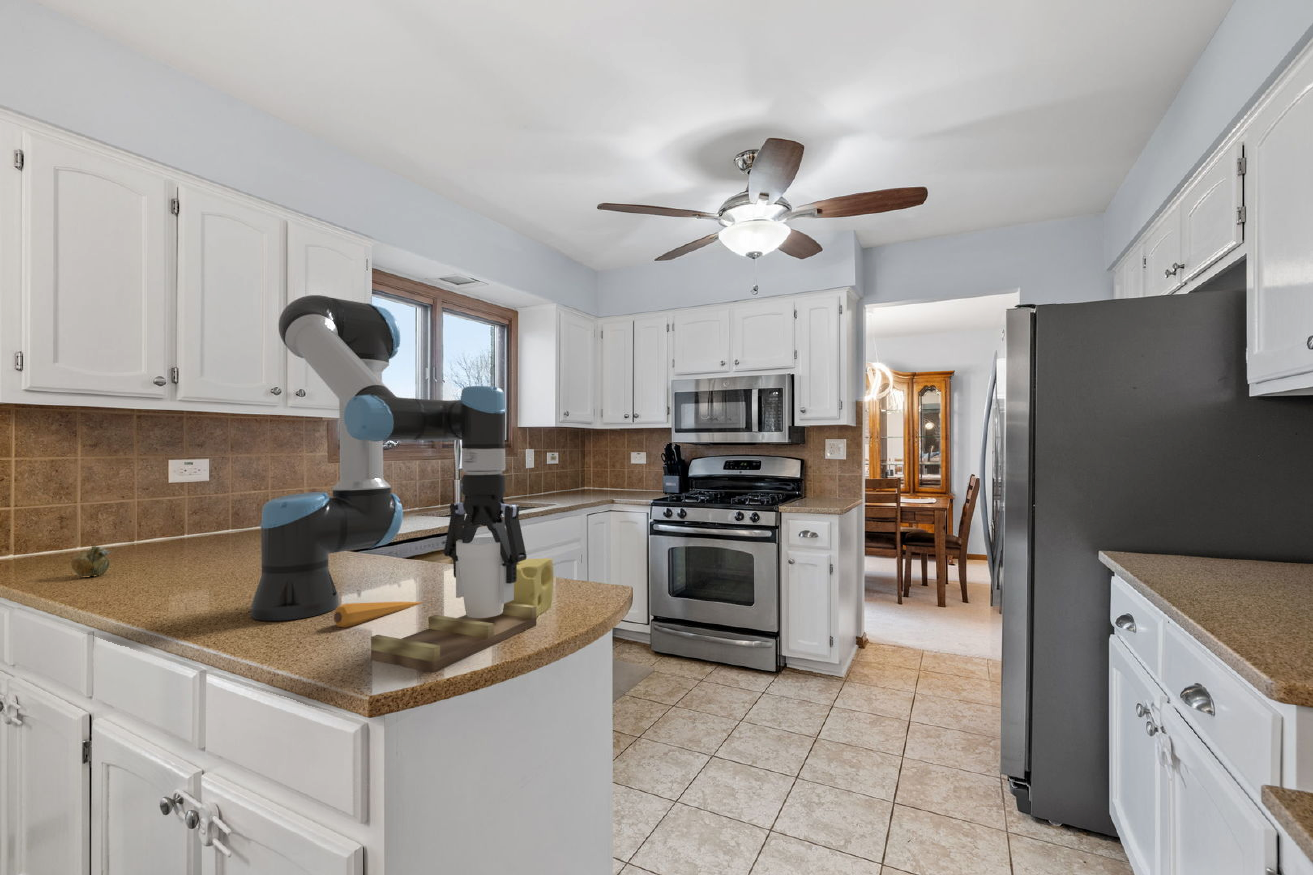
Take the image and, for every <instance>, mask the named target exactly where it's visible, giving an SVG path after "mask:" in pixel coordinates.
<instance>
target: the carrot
mask: <svg viewBox="0 0 1313 875" xmlns="http://www.w3.org/2000/svg"><path fill="white" fill-rule="evenodd" d="M423 603H424V602H423V601H421V602H420V601H386V602H385V601H384V602H383V601H382V602H380V601H379V602H377V601H376V602H353V603H352V602H351V603H349V602H348V603H343V604H342V605H338V607H337V608H335V609H334V614H333V621H334V623H335V626H336V627H339V628H351V627H354V626H358V625H360V624H363V623H366V622H369V621H372V620H377V619H378V618H381V616H382V617H385V616H388V615H391V614H394V613H397V612H400V610H401V611H403V609H404V610H406V609H409V608H412V607H414V605H415V606H417V604H418V605H420V604H423ZM411 606H412V607H411ZM405 608H406V609H405ZM393 612H394V613H393ZM390 613H391V614H390Z"/></svg>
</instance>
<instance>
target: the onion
mask: <svg viewBox="0 0 1313 875" xmlns="http://www.w3.org/2000/svg"><path fill="white" fill-rule="evenodd" d="M109 554H111V550H109V549H108V550H107V549H106V548H104V547H102V546H97V545H93V546H91V548H90V549H89V550H86V551H82V552H81V553H78V554H77V555H75V556H74V557H73V559H72V561H71V569H72V571H73V572H74V573H75V574H77V575H78V576H79V577H81V576H94V575H99V574H102V575H104V574H105V573H106V572H108V570H109V568H110V564H111V562H110V559H109V557H106V556H108V555H109Z"/></svg>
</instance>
